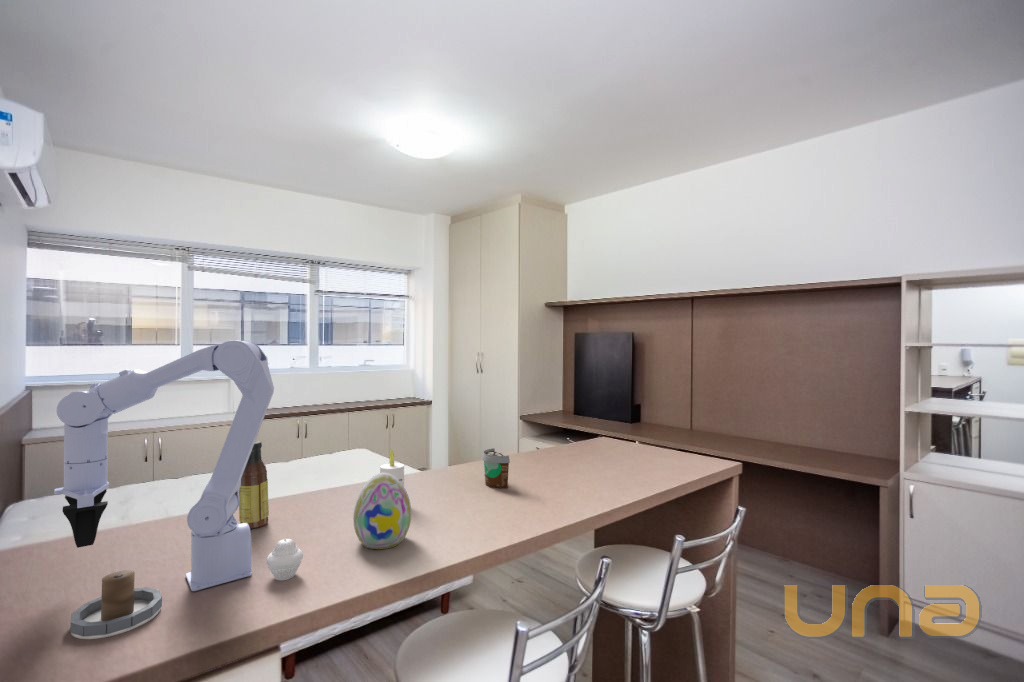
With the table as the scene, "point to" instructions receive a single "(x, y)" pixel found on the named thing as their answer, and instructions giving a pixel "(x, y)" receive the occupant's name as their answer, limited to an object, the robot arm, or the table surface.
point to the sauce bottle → (254, 491)
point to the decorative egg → (382, 512)
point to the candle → (393, 468)
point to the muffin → (284, 559)
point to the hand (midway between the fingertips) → (85, 538)
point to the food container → (495, 469)
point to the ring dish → (92, 627)
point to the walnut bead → (117, 595)
